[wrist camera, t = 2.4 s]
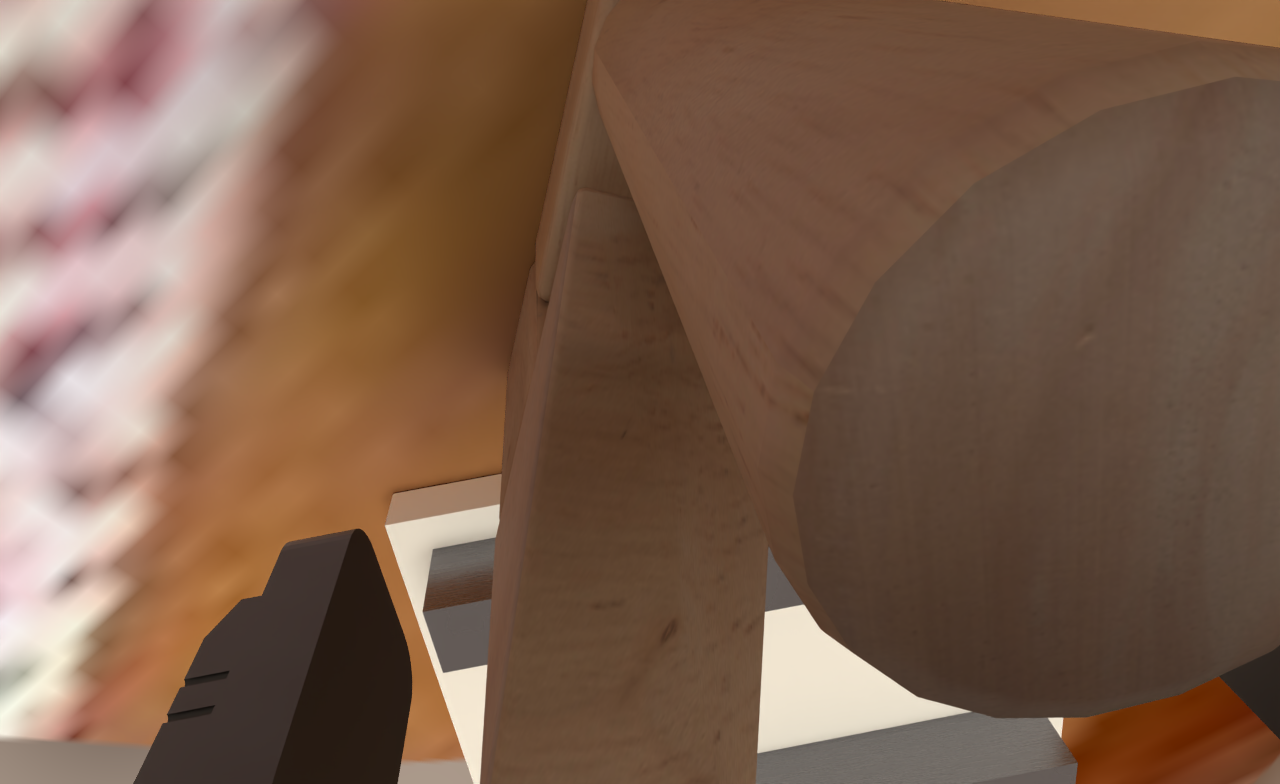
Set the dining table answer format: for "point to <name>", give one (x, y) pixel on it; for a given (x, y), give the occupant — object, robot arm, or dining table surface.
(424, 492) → the slotted base
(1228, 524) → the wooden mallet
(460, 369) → the dining table surface
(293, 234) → the dining table surface
